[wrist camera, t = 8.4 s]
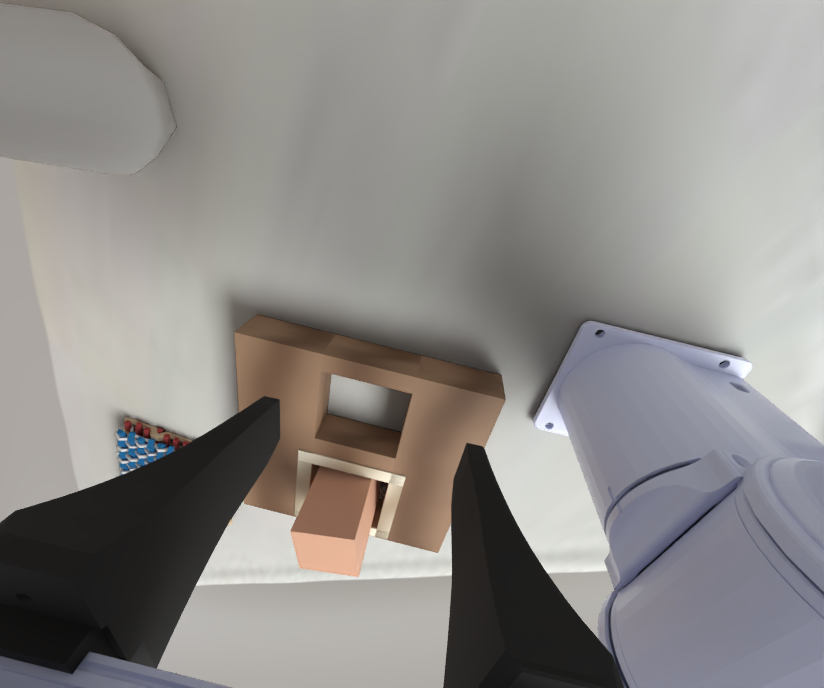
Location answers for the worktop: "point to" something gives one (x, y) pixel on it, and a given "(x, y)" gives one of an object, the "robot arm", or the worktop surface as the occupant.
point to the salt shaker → (76, 95)
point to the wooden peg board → (359, 442)
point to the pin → (335, 522)
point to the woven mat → (144, 445)
